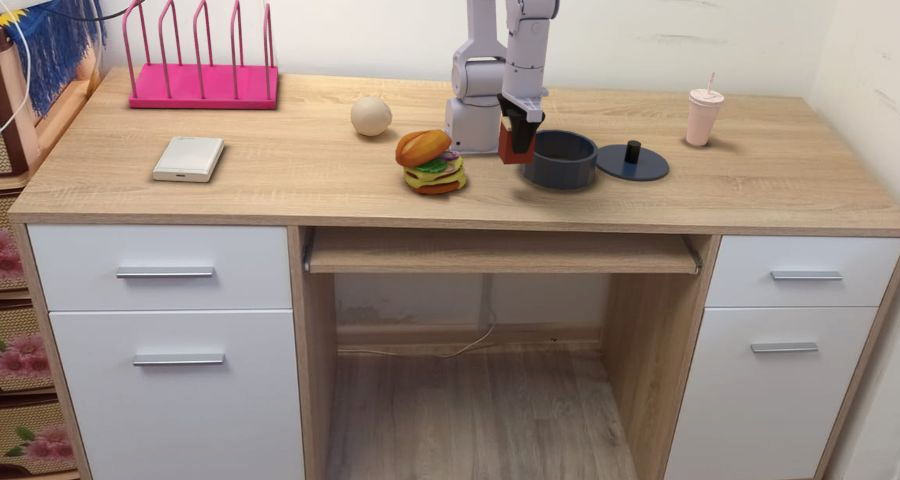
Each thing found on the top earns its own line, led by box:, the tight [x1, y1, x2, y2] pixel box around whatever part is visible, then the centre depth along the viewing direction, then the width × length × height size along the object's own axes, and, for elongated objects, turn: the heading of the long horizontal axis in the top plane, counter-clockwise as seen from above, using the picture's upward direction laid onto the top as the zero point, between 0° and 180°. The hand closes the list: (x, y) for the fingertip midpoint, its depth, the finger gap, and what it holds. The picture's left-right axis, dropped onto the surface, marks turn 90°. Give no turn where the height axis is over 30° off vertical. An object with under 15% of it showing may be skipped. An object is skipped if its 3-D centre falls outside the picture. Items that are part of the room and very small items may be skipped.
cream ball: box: [350, 95, 393, 137], centre depth 146 cm, size 7×7×7 cm
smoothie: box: [685, 70, 725, 146], centre depth 153 cm, size 6×6×14 cm
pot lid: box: [595, 139, 669, 182], centre depth 145 cm, size 13×13×4 cm
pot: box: [519, 128, 599, 191], centre depth 139 cm, size 12×12×6 cm
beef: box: [497, 116, 536, 165], centre depth 128 cm, size 5×4×6 cm
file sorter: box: [121, 0, 279, 110], centre depth 152 cm, size 17×25×16 cm
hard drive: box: [152, 135, 225, 183], centre depth 132 cm, size 2×8×12 cm
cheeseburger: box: [394, 128, 467, 195], centre depth 132 cm, size 10×11×10 cm
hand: (516, 146), depth 129 cm, fingers closed on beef, 4 cm apart
